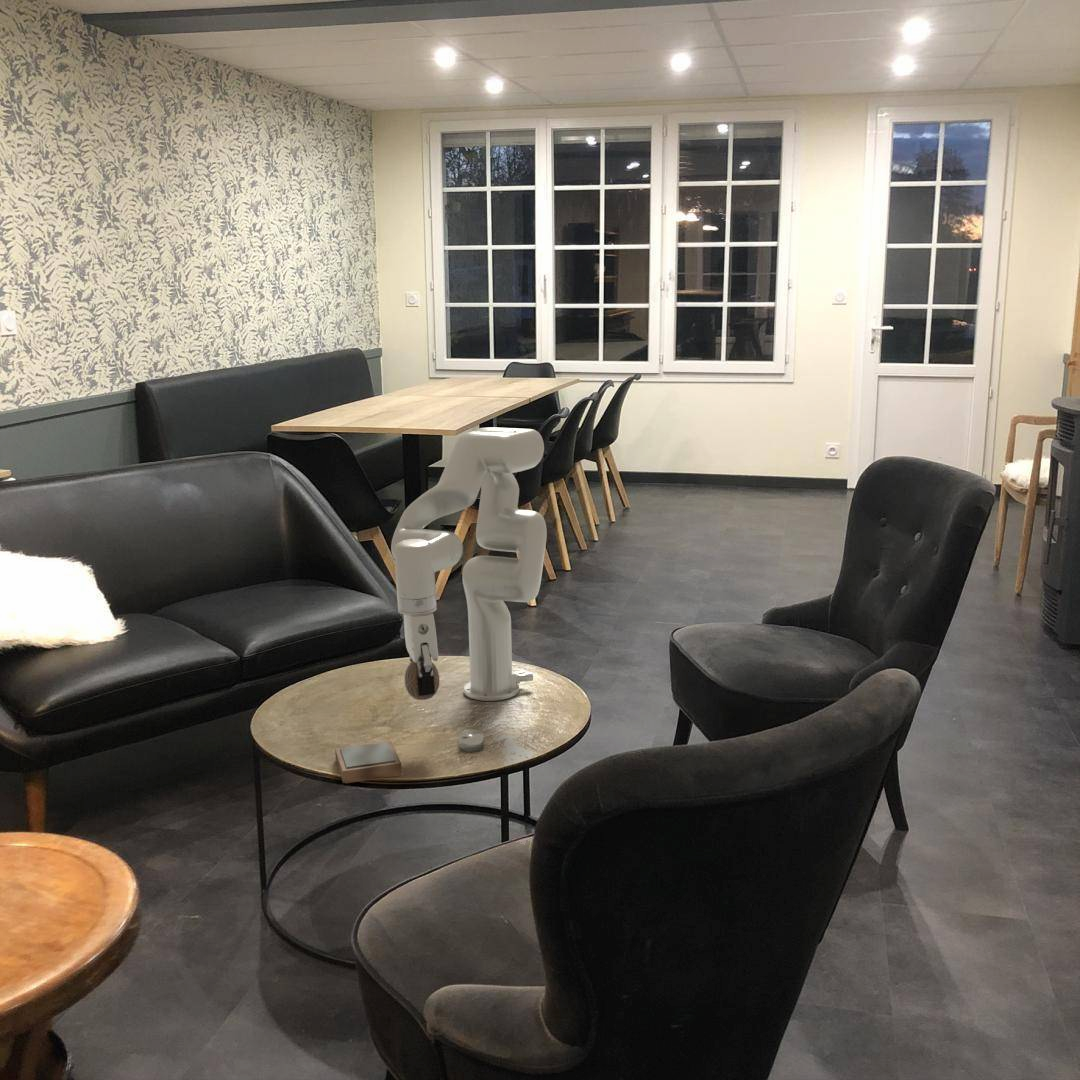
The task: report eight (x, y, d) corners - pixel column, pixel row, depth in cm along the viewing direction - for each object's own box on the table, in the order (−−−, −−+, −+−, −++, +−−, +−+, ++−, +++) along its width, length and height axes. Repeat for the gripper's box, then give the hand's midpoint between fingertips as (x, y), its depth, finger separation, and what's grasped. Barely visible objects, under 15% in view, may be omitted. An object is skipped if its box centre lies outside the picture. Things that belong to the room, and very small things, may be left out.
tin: (480, 742, 226) (479, 728, 225) (486, 751, 221) (486, 737, 220) (456, 745, 224) (455, 731, 223) (461, 755, 219) (461, 740, 219)
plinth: (391, 752, 221) (390, 739, 220) (401, 775, 211) (401, 761, 210) (335, 760, 218) (334, 747, 217) (343, 783, 207) (342, 769, 207)
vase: (445, 690, 225) (442, 650, 222) (433, 704, 218) (430, 662, 216) (413, 688, 226) (410, 647, 224) (400, 701, 220) (397, 660, 218)
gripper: (445, 613, 210) (450, 700, 215) (426, 587, 226) (432, 669, 231) (406, 618, 208) (412, 706, 213) (390, 592, 224) (396, 674, 229)
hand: (422, 686), depth 222 cm, fingers closed on vase, 6 cm apart
